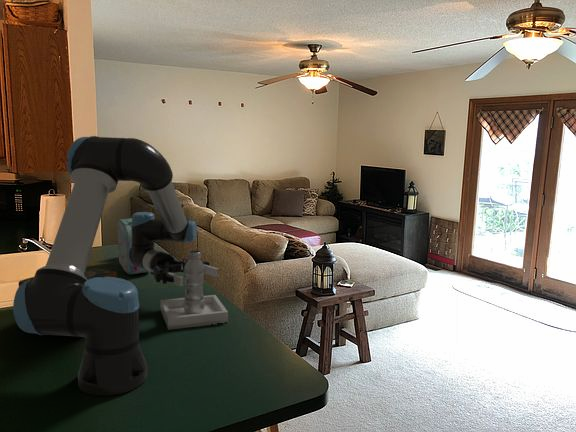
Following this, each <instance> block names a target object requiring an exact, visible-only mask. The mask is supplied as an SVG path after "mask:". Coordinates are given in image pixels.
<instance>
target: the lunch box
mask: <svg viewBox="0 0 576 432" xmlns="http://www.w3.org/2000/svg"><path fill="white" fill-rule="evenodd" d="M131 224H132V217H131V218H130V217H129V218H125V219H124V218H123V219H122V218H121V219H119V220H118V222H117V241H118V243H117V244H118V263H119V264H120V266H121V267H122V270H124V272H126V274H127V275H137V274H143V273H148V274H149V273H151V272H150V271H148V270H145V269H142V268H139V267H136V266H134V265H132V264H130V263H129V262H128V260H127V258H126V253H127V251H128V248H129V247H130V246H132V231H131Z"/></svg>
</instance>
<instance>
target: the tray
mask: <svg viewBox="0 0 576 432" xmlns="http://www.w3.org/2000/svg"><path fill="white" fill-rule="evenodd" d="M203 297H204V302H205V307H204V310H203V312H202V313H200V314H187V313H186V312H185V311H184V306H183V305H184V299H185V297H180V298H169V299H160V312H161V315H162V318H163V321H164V324H165V325H166V328H167V330H178V329H186V328H187V329H188V328H194V327H203V326H204V327H205V326H211V324H213V325H218V324H217V323H222V324H226V323H225V322H228V323H229V311H228V310H227V309H226V307H225V306H224V304H223V303H222V301H220V299H219V298H218V296H217V295H216V294H210V295H203Z"/></svg>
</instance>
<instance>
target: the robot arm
mask: <svg viewBox="0 0 576 432" xmlns="http://www.w3.org/2000/svg"><path fill="white" fill-rule="evenodd" d="M66 159H67V161H66V168H67V171H68V173H69V175H70V179H71V181H72V182H73V187H72V189H71V193H70V195H69V198H68V200H67V203H66V206H65V209H64V211H63V215H62V218H61V221H60V224H59V226H58V230H57V233H56V235H55V238H54V241H53V244H52V246H51V250H50V252H49V256H48V258H47V262H46V263H45V265H44V266H42V267H40V268H38V269H36V271H35V273H34V276H33V277H34V279H33V281H27V282H24V283H22V285H20V286H19V285H18V287H17V289H16V292H15V295H14V297H13V303H12V304H13V306H12V309H13V311H12V312H13V315H14V319H15V322H16V325H17V326H18V327H19V329H20V330H22V331H23V332H25V333H29V334H36V335H39V336H47V335H49V336H63V337H65V336H67V337H81V338H84V353H83V357H82V360H81V362H80V365H79V369H78V373H77V386H78V388H79V390H81V391H82V392H84V393H85V394H88V395H92V396H97V397H98V396H99V397H104V396H105V397H106V396H107V397H109V396H110V397H111V396H115V395H121V394H125V393H127V392H131V391H133V390H135V389H137V388H138V387H140V386H141V385H143V383H145V381H146V379H147V378H148V365H147V362H146V359H145V357H144V356H145V355H144V354H143V352H142V349H141V345H140V301H139V292H138V291H139V290H138V288H137V287H136V286H135V284H133V282H132V281H129V280H126V279H123V278H119V277H117V278H115V277H104V278H101V277H96V278H92V279H89V280H87V278H86V277H85V275H84V272H85V269H87V266H88V262H89V258H90V256H91V252H92V248H93V246H94V241H95V239H96V235H97V231H98V229H99V225H100V221H101V218H102V215H103V212H104V209H105V205H106V201H107V198H108V197H109V196H108V195H109V194H110V193H112V192H115V191H116V189H117V187H118V183H119V182H120V181H121V182H136V183H138V184H139V185H140V187H141V188H142V189H143V190H145V191H147V193H148V195H149V197H150V199H151V201H152V204H153V206H154V207H155V210H156V212H157V213H158V216H159V218H155V213H154V212H150V211H148V212H147V211H140V212H139V211H137V212H135V213H133V214H132V216H131V218H132V224H131V231H132V246H130V247H129V248H128V251H127V253H126V258H127V260H128V262H129V263H130V264H132V265H134V266H136V267H139V268H142V269H145V270H148V271H150V272H149V273H150V275H152V276H153V277H154V280H155V282H156V283H161V281H162V284H163V285H166V284H167V283H171V284H173V285H175V286H179V287H183V286H184V283H183V282H184V280H183V278H184V277H183V276H180V275H177V274H178V273H184V265H185V264H186V262H187V261H188V260H189V259H185V258H183V259H182V260H177V259H175V258H174V256H173V255H172V254H170V253H166V252H163V251H160V250H157V249H155V242H172V243H173V242H174V243H193V242H195V241H196V239H197V236H198V235H197V234H198V225H197V222H196V221H194V220H190V219H187V218H186V215H185V213H184V209H183V207H182V204H181V202H180V199H179V197H178V196H179V195H178V194H177V192H176V188H175V186H174V184H173V182H172V181H173V178H174V175H173V170H172V169H171V164H169V162H168V160H167V159H166V158H165V157H164V156H163V154H162V153H161V152H160V151H159V150H157V149H156V148H155V147H154V146H152V145H151V144H150V143H148V142H146V141H144V140H143V139H138V138H134V137H128V138H126V137H108V136H107V137H105V136H104V137H103V136H96V135H91V136H81V137H79V138H76V139H75V140H74V141H73V142H72V143H71V145H70V147H69V149H68V152H67V155H66ZM202 262H203V264H204V267H205V271H204V275H208V276H211V277H214V278H217V277H218V276H219V275H218V274H219V273H218V272H219V268H217V267H215V266H211V265H210V262H208V261H205V260H204V261H202Z"/></svg>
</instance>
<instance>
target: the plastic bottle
mask: <svg viewBox="0 0 576 432" xmlns="http://www.w3.org/2000/svg"><path fill="white" fill-rule="evenodd" d="M201 252H202V251H201V250H197V249H192V250H188V253H187V254H188V255H187V258H188V259H187V260H188V261H187V262H186V264H185V265H184V272H183V274H184V281H185V282H184V286H185V291H184V293H185V294H184V298H185V299H184V305H183V306H184V311H185V312H186V313H187V314H200V313H202V312H203V310H204V307H205V302H204V297H203V296H204V277H205V273H204V271H205V267H204V264H203V262H204V261H202V260H201V257H202V255H201Z"/></svg>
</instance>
